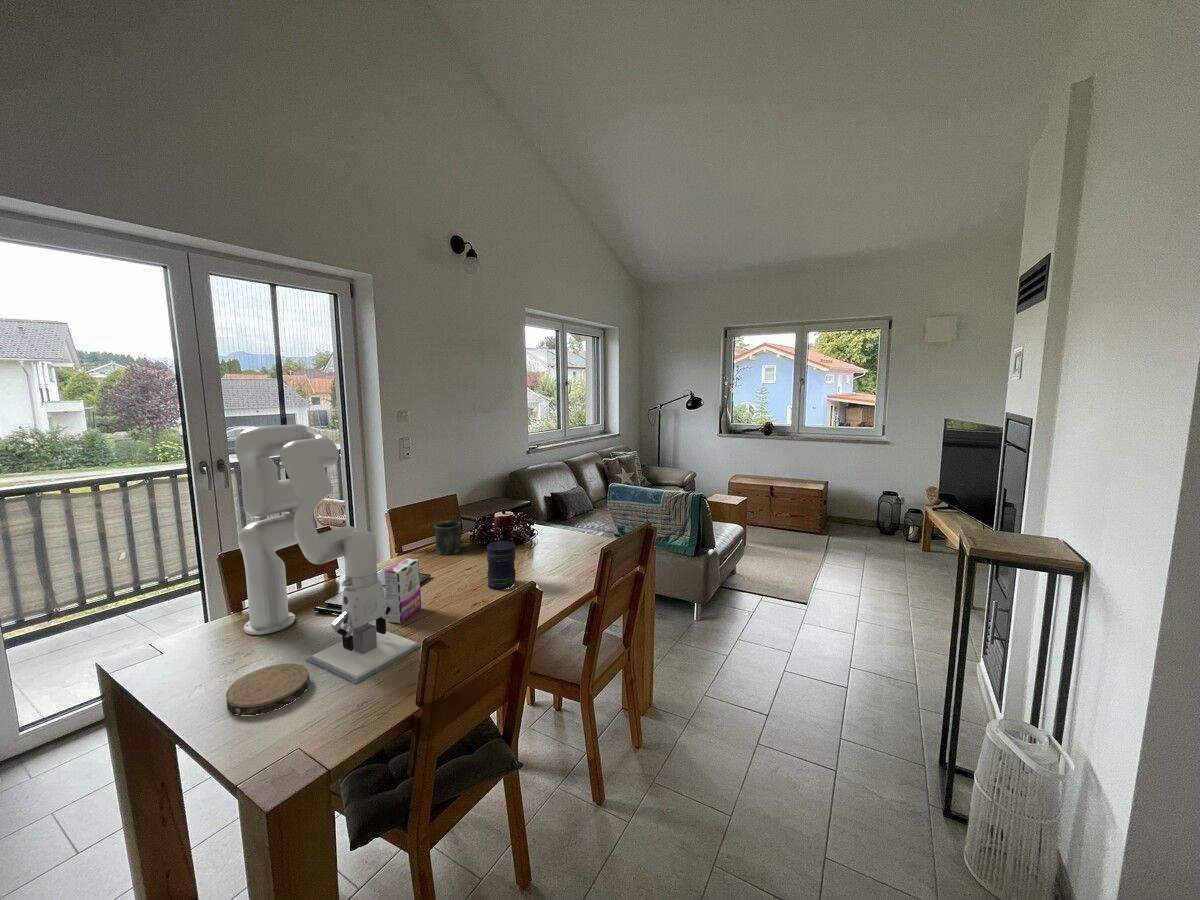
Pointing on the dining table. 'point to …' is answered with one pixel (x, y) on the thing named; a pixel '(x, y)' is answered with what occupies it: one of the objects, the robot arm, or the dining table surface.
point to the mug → (448, 537)
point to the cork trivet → (267, 689)
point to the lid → (364, 651)
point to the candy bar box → (403, 590)
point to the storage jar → (501, 564)
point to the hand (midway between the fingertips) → (365, 640)
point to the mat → (366, 673)
